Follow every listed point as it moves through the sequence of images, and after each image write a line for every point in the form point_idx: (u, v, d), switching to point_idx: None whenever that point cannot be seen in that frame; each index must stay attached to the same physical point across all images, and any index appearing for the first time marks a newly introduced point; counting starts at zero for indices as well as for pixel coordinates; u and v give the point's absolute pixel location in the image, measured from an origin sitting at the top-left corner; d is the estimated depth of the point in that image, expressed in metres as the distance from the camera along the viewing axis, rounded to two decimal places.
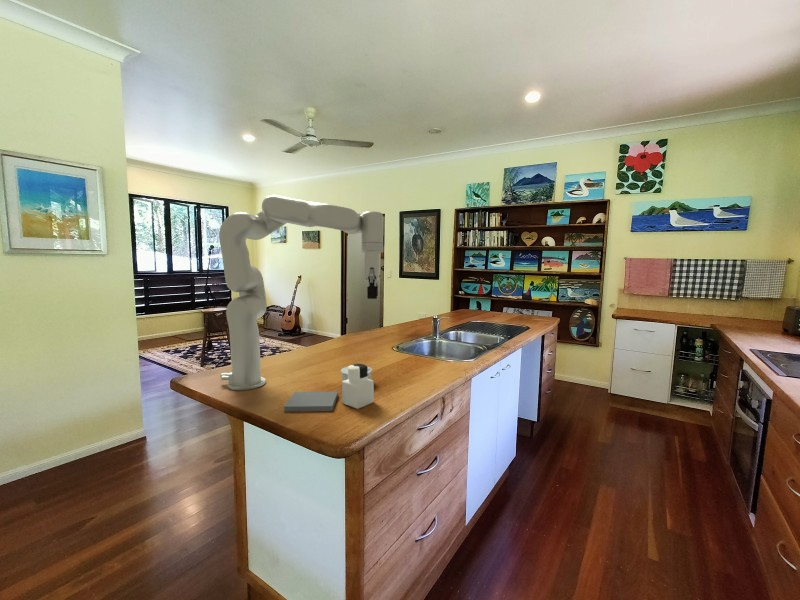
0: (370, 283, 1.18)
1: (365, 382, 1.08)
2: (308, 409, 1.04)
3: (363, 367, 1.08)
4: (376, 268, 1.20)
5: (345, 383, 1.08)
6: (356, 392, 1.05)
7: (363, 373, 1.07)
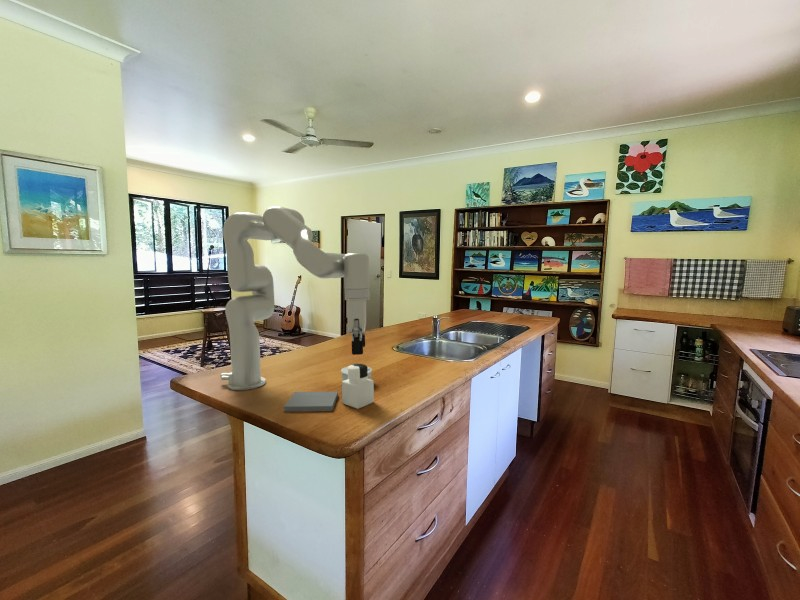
0: (354, 338, 1.01)
1: (365, 382, 1.08)
2: (308, 409, 1.04)
3: (363, 367, 1.08)
4: (361, 319, 1.03)
5: (345, 383, 1.08)
6: (356, 392, 1.05)
7: (363, 373, 1.07)
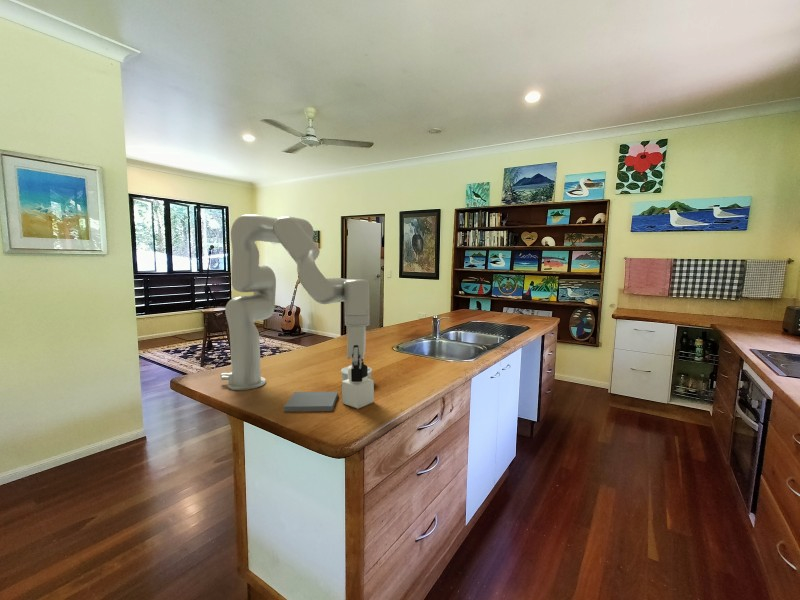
0: (354, 366, 1.04)
1: (365, 382, 1.08)
2: (308, 409, 1.04)
3: (363, 367, 1.08)
4: (361, 346, 1.04)
5: (345, 383, 1.08)
6: (356, 392, 1.05)
7: (363, 373, 1.07)
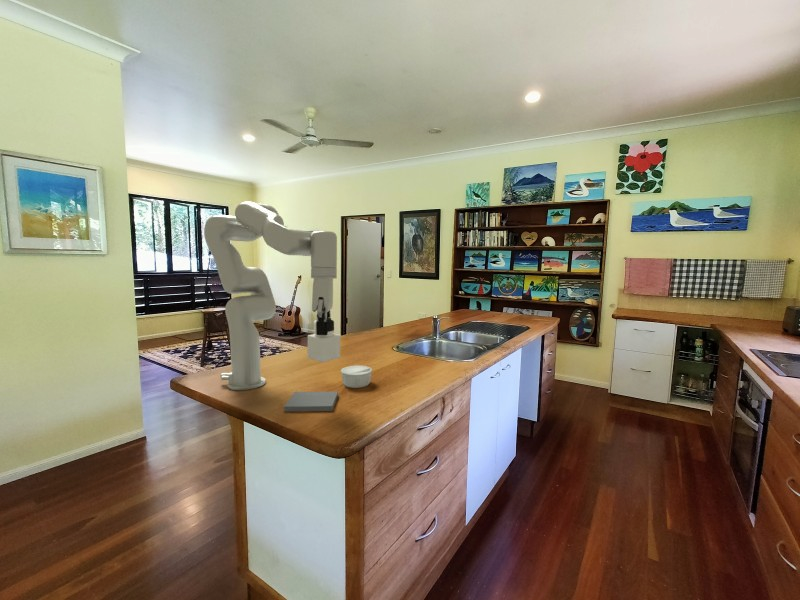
0: (319, 318, 1.02)
1: (331, 336, 1.07)
2: (308, 409, 1.04)
3: (329, 321, 1.06)
4: (326, 298, 1.02)
5: (310, 337, 1.07)
6: (321, 345, 1.04)
7: (329, 327, 1.06)
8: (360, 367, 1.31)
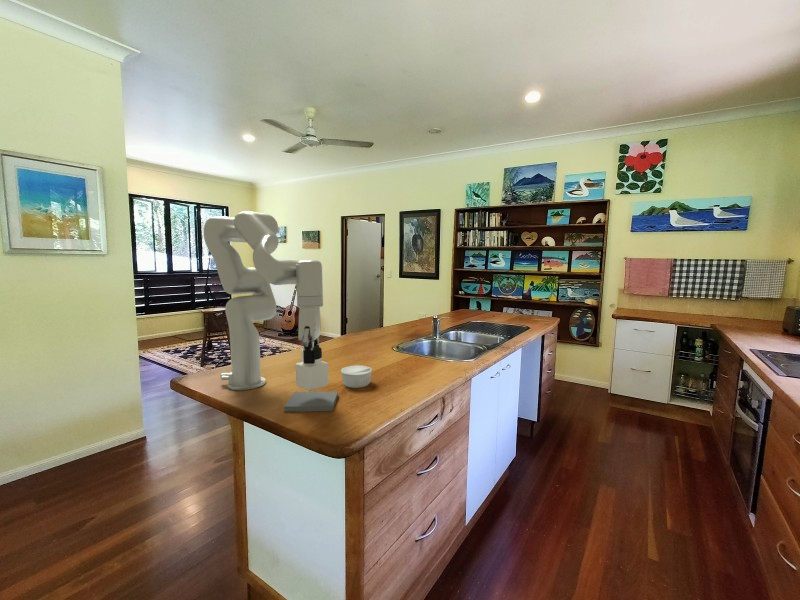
0: (305, 347, 1.03)
1: (318, 364, 1.07)
2: (308, 409, 1.04)
3: (316, 349, 1.07)
4: (312, 327, 1.03)
5: (298, 365, 1.07)
6: (308, 374, 1.04)
7: (316, 355, 1.06)
8: (360, 367, 1.31)
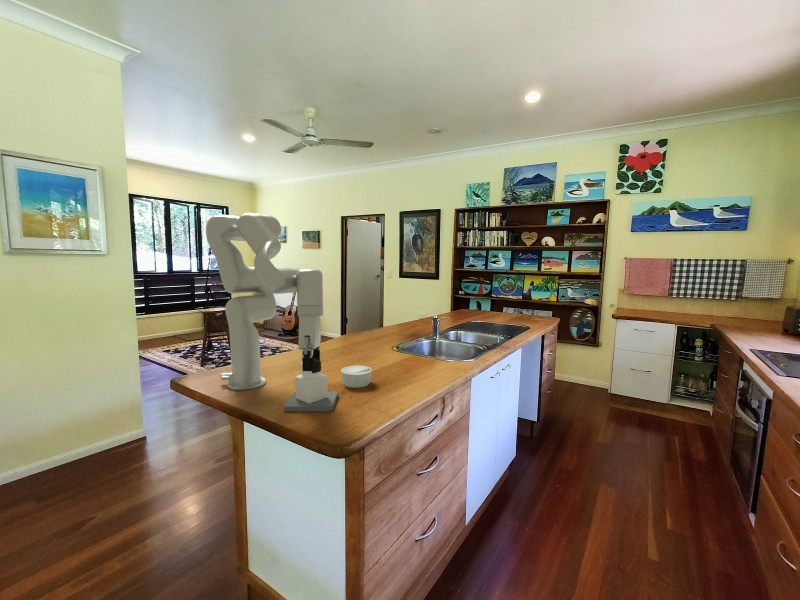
0: (304, 355, 1.02)
1: (318, 377, 1.08)
2: (308, 409, 1.04)
3: (316, 362, 1.08)
4: (312, 336, 1.03)
5: (298, 378, 1.08)
6: (307, 387, 1.05)
7: (315, 368, 1.07)
8: (360, 367, 1.31)
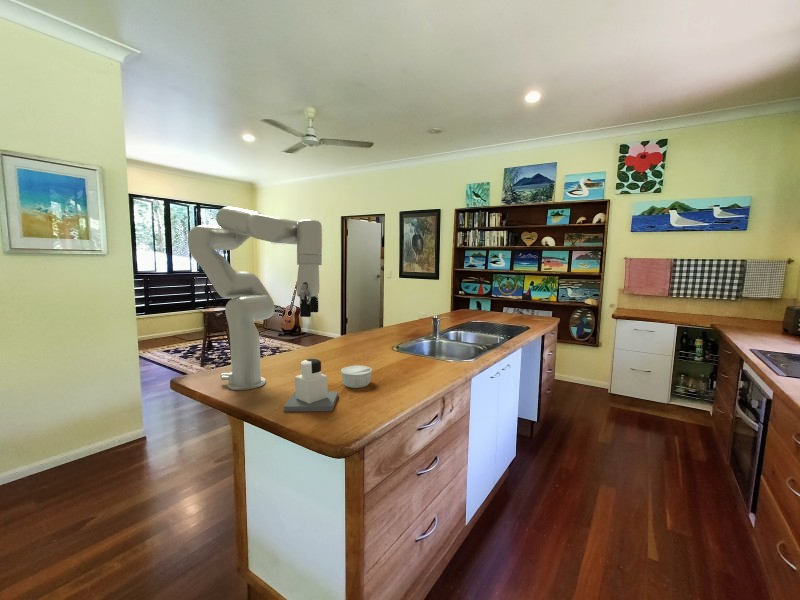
0: (302, 300, 1.06)
1: (318, 377, 1.08)
2: (308, 409, 1.04)
3: (316, 362, 1.08)
4: (310, 283, 1.08)
5: (298, 378, 1.08)
6: (307, 387, 1.05)
7: (315, 368, 1.07)
8: (360, 367, 1.31)
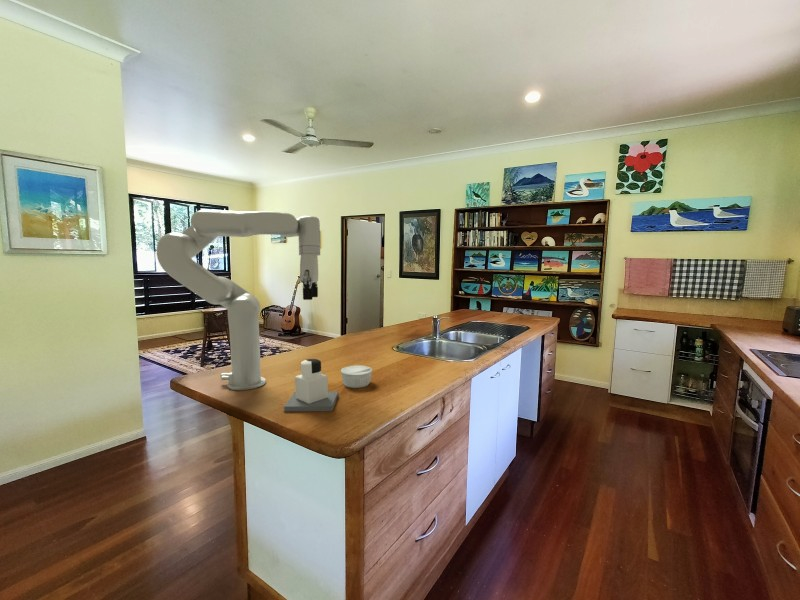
0: (304, 285, 1.23)
1: (318, 377, 1.08)
2: (308, 409, 1.04)
3: (316, 362, 1.08)
4: (311, 270, 1.25)
5: (298, 378, 1.08)
6: (307, 387, 1.05)
7: (315, 368, 1.07)
8: (360, 367, 1.31)
